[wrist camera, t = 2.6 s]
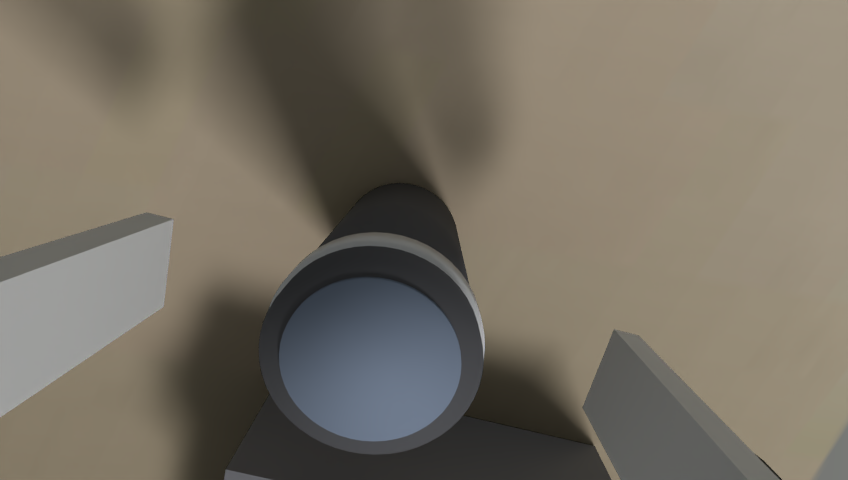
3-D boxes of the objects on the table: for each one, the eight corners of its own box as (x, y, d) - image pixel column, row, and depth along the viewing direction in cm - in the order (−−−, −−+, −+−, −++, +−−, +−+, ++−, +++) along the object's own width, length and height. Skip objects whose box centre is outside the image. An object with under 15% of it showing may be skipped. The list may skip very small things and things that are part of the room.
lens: (355, 167, 19) (271, 224, 9) (473, 198, 19) (519, 285, 9) (331, 279, 20) (236, 435, 10) (442, 306, 20) (452, 483, 10)
